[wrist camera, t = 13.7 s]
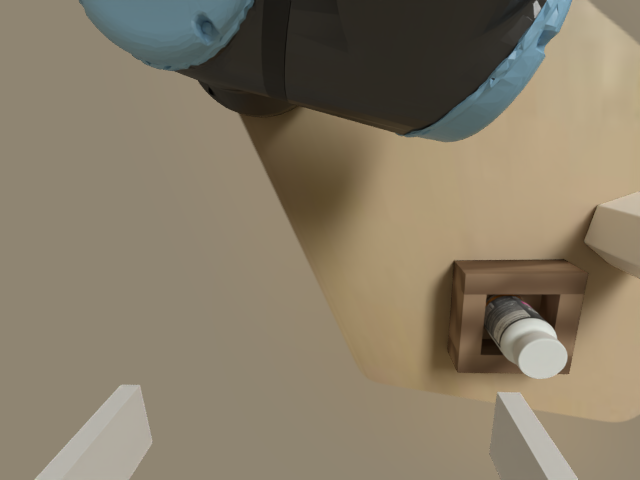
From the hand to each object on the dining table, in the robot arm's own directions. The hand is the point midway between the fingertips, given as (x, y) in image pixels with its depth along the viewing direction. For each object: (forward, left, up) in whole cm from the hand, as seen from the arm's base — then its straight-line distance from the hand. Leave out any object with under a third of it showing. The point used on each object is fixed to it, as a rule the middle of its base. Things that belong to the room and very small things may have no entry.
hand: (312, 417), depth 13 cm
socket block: (+12, +21, -32) cm, 40 cm away
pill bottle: (+12, +20, -31) cm, 39 cm away
